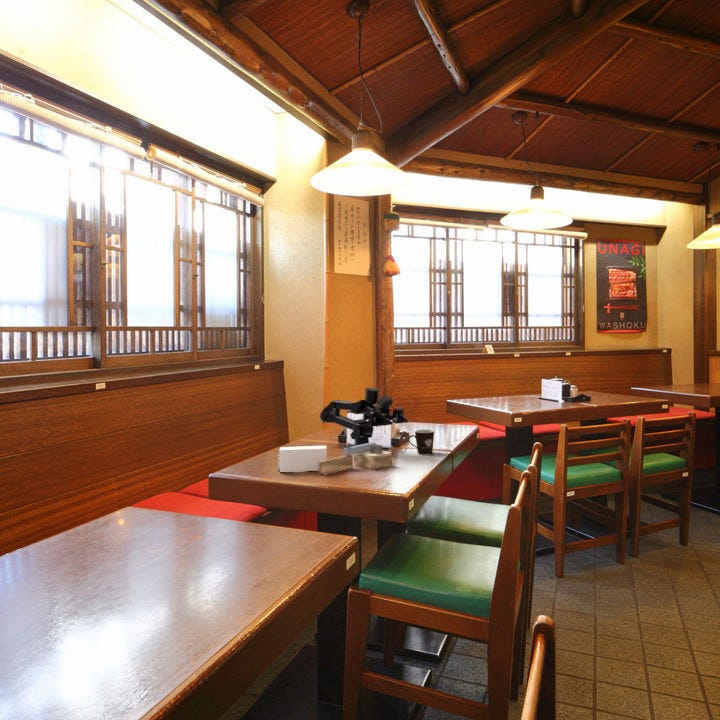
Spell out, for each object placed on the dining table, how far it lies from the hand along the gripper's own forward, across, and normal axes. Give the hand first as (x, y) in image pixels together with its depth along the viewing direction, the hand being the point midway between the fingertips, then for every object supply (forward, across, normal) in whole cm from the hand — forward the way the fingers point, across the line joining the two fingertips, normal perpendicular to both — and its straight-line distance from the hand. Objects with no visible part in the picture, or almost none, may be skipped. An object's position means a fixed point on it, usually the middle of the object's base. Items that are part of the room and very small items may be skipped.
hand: (399, 422), depth 236 cm
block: (-3, -18, +12) cm, 22 cm away
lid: (+1, -15, +12) cm, 19 cm away
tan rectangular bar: (-2, -31, +18) cm, 35 cm away
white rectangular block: (-13, -39, +20) cm, 46 cm away
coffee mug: (+1, +15, +16) cm, 22 cm away
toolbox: (+2, -15, +16) cm, 22 cm away
